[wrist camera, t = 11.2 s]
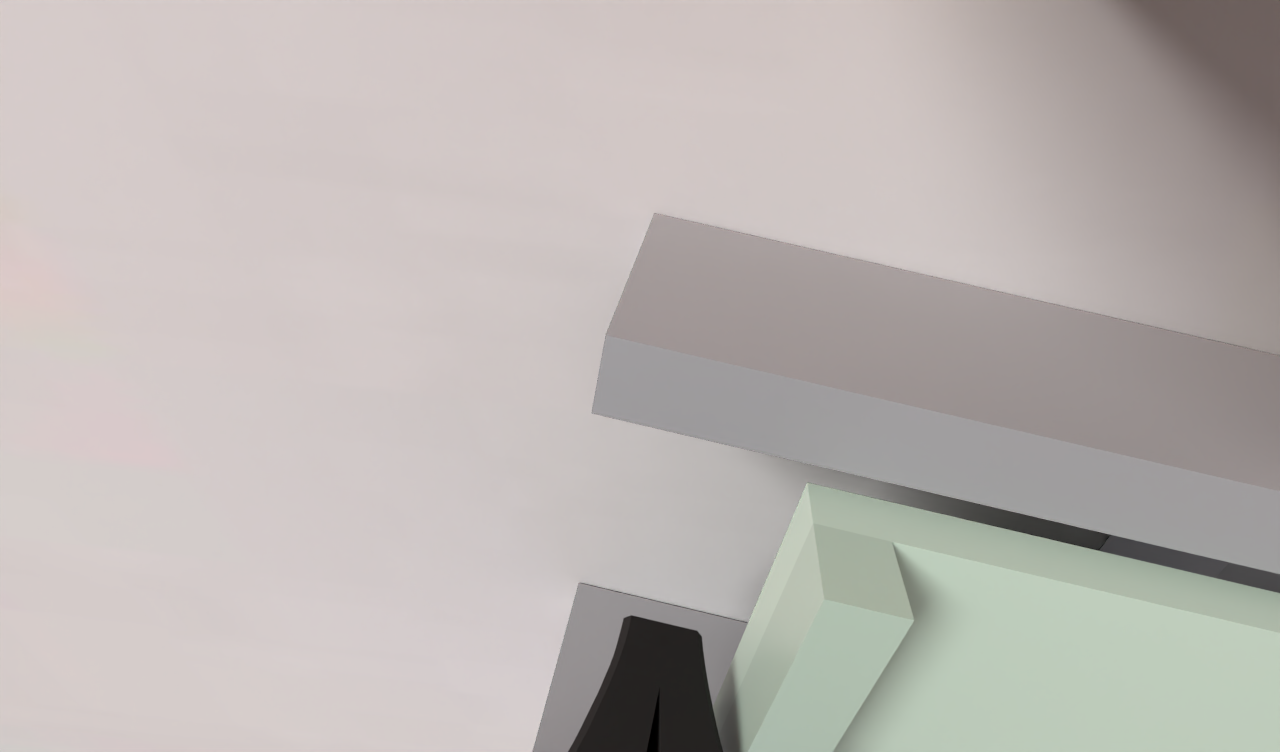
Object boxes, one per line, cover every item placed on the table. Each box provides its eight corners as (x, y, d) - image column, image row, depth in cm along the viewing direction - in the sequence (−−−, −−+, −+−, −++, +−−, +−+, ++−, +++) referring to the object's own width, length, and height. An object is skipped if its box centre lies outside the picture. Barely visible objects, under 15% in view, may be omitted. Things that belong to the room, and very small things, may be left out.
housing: (1388, 805, 18) (1613, 1081, 14) (573, 610, 19) (518, 812, 14) (1875, 491, 12) (2580, 791, 8) (654, 213, 13) (606, 335, 8)
